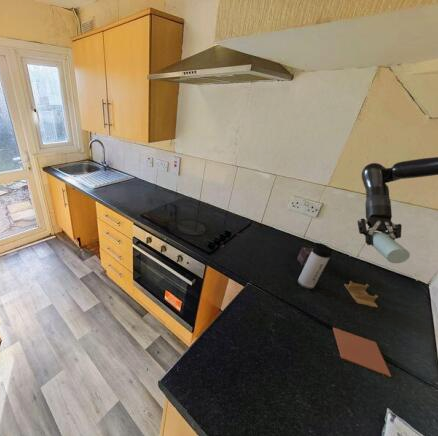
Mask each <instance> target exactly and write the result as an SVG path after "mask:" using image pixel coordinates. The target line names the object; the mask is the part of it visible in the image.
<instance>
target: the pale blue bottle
mask: <svg viewBox="0 0 438 436" xmlns="http://www.w3.org/2000/svg"><path fill="white" fill-rule="evenodd" d="M372 235H373V244H372V245H371V246H372V247H373V248H374V249H375V250H376V251H377V252H378V253H379V254H380V255H382V256H383V258H384V259H386V260H387V261H388V262H389V263H391V264H402V263H404V262H406V261H408V259H410V257H411V254H410V251H409V250H407V249H406V248H405V247H404V246H403V245H401V244H399V242H397V241H396V240H395V241H394V240H393V239H392V238H391V237H389V236H388V235H387V234H385V233H382V232H379V231H374V232H373V234H372Z"/></svg>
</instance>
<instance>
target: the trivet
mask: <svg viewBox="0 0 438 436" xmlns="http://www.w3.org/2000/svg"><path fill="white" fill-rule="evenodd" d="M332 332H333V334H334V338H335V342H336V345H337V348H338V352H339V355H340V358H341V359H342V360H345V361H348V362H351V363H353V364H355V365H358V366H361V367H363V368H365V369H369V370H371V371H373V372H377V373H379V374H381V373H382V374H381V375H384V374H385V375H384V376H386V375H387V376H386V377H388V378H391V377H392V375H391V372H390V370H389V368H388V366H387V363H386V361H385V359H384V357H383V354H382V353H381V351H380V348H379V346H378V344H377V342H376V341H373V340H371V339H367V338H365V337H362V336H360V335H356V334H353V333H350V332H347V331H345V330H342V329H339V328H336V327H334V326H333V327H332Z"/></svg>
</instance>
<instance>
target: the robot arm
mask: <svg viewBox="0 0 438 436" xmlns="http://www.w3.org/2000/svg"><path fill="white" fill-rule="evenodd" d="M431 176H438V156H434V157H424V158H417V159H409V160H403V161H397V162H396V163H394V164H392V167H385V166H383V165H382V164H380V163H379V162H372V163H368V164H366V165H365V166H364V167H363V168H362V170H361V180H362V183H363V186H364V189H365V205H364V206H365V218H366V219H365V218H360V219H358V220H357V227H358V232H359V234H361V235H364V237H365V243H366V245H367V246H372V244H373V235H372V234H373V232H379V233H385V234H387V235H388V236H389V237H391V238H392V239H393V240H394V241H396V240H397V239H400V238H401V237H402V224H401V223H393V221H392V217H393V214H392V213H393V212H392V202H391V198H390V189H389V186H388V183H392V182H396V181H399V180H406V179H415V178H424V177H431ZM367 226H368V227H367Z"/></svg>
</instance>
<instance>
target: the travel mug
mask: <svg viewBox="0 0 438 436" xmlns="http://www.w3.org/2000/svg"><path fill="white" fill-rule="evenodd" d="M312 249H313V250H312V252H311V254H310V256H309V258H308V260H307V262H306V264H305V266H303V268H302V271H301V273H300V274H299V277H298V279H297V282H298V284H299V285H300V286H301V287H303V288H306V289H310V290H311V289H314V288H315V286H316V285H317V283H318V281H319V279H320V277H321V275H322V274H323V271H324V269H325V268H326V267H327V266H326V265H327V264H328V262H329V260H330V258H331V255H332V254H333V250H332V248H331V247H329V246H328V245H326V244H324V243H321V242H314V243H313V248H312Z"/></svg>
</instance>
